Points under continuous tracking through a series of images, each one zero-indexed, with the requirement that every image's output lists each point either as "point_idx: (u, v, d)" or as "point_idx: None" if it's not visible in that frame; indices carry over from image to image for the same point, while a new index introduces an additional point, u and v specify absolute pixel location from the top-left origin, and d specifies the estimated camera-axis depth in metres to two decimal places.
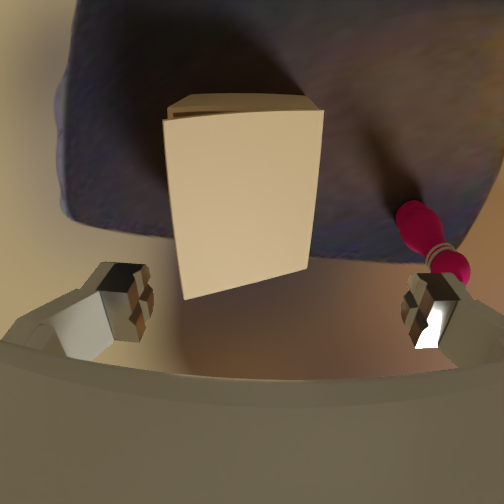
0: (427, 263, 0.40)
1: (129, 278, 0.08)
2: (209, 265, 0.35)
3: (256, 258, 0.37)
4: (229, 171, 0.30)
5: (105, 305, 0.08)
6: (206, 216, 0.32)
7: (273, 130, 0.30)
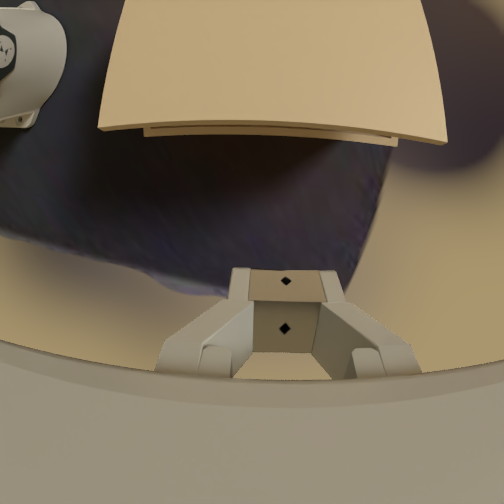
0: None
1: (279, 285, 0.08)
2: (382, 78, 0.15)
3: (379, 10, 0.15)
4: (200, 31, 0.15)
5: (256, 315, 0.08)
6: (278, 66, 0.15)
7: None
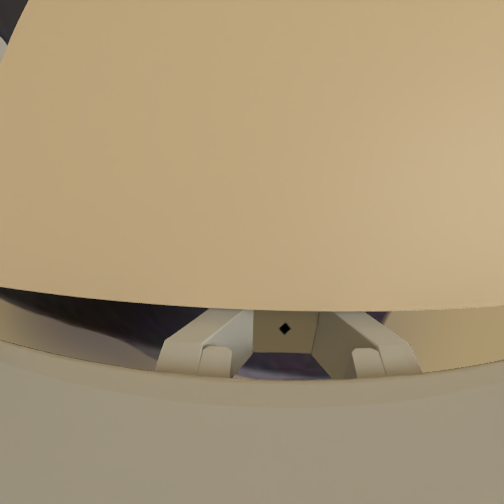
0: None
1: None
2: None
3: (482, 29, 0.07)
4: (124, 67, 0.07)
5: (256, 316, 0.08)
6: (300, 155, 0.07)
7: None
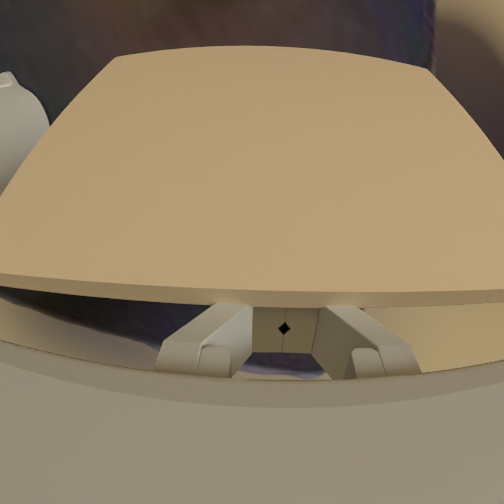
0: None
1: None
2: (463, 200, 0.09)
3: (421, 112, 0.12)
4: (152, 135, 0.10)
5: (255, 315, 0.08)
6: (283, 183, 0.09)
7: (107, 91, 0.13)
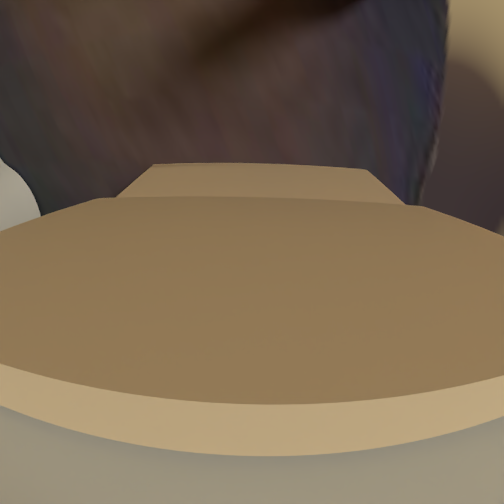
0: None
1: None
2: None
3: (432, 227, 0.11)
4: (108, 238, 0.08)
5: None
6: (276, 276, 0.06)
7: (79, 213, 0.13)
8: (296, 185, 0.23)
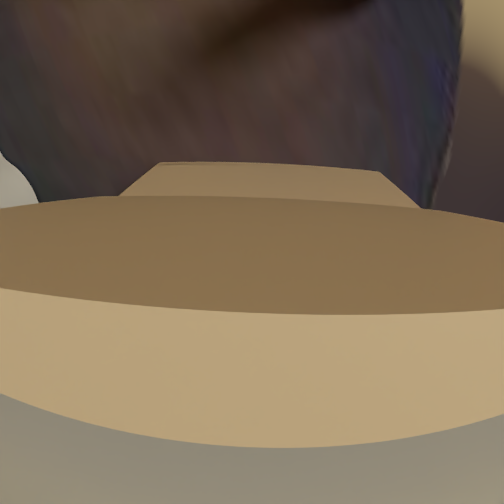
0: None
1: None
2: None
3: (459, 218, 0.10)
4: (105, 208, 0.07)
5: None
6: (312, 226, 0.05)
7: (77, 201, 0.12)
8: (308, 186, 0.22)
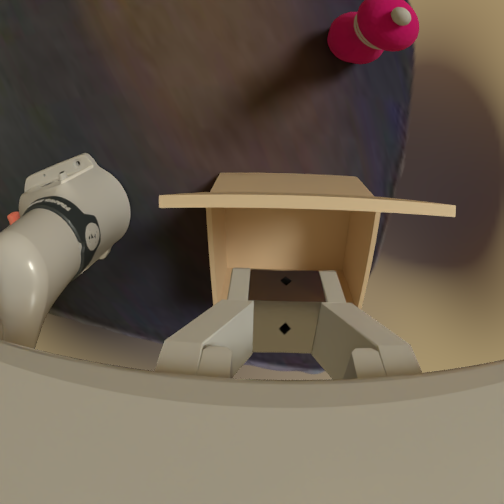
0: None
1: (279, 285, 0.08)
2: None
3: None
4: None
5: (256, 316, 0.08)
6: None
7: None
8: (312, 187, 0.40)
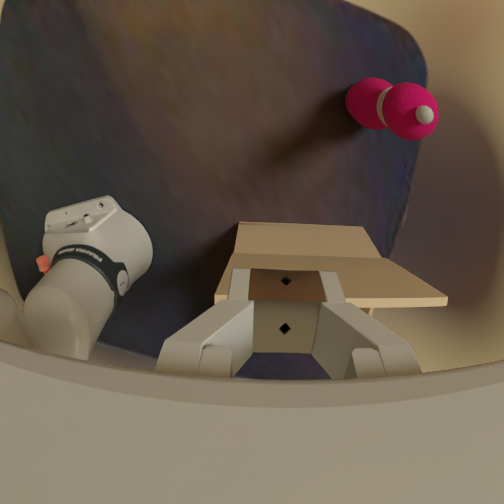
0: None
1: (279, 285, 0.08)
2: (395, 286, 0.28)
3: (380, 271, 0.33)
4: None
5: (256, 315, 0.08)
6: None
7: (245, 264, 0.35)
8: (325, 243, 0.45)
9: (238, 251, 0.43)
